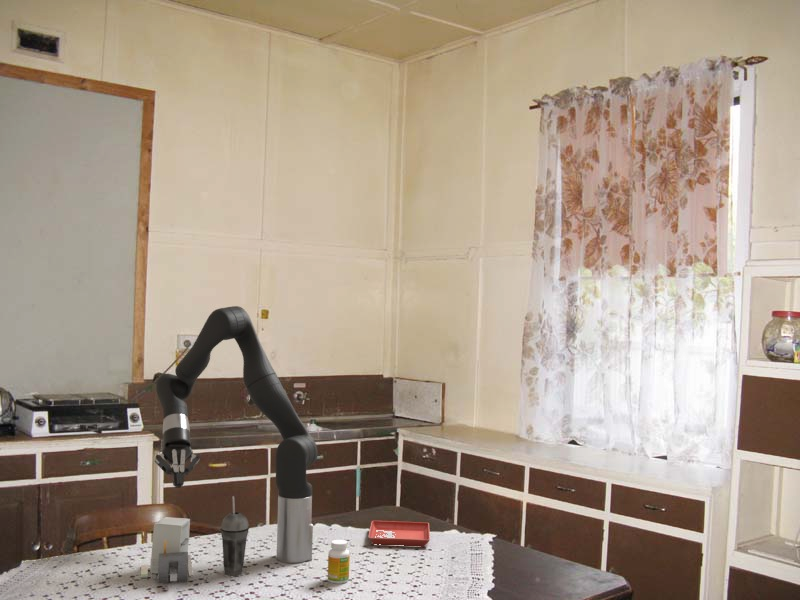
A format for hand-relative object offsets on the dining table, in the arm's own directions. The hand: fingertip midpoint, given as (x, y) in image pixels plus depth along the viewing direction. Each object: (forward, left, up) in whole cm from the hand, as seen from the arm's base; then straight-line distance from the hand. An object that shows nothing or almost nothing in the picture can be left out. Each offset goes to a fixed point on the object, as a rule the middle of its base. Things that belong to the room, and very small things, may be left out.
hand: (178, 486), depth 214 cm
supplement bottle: (-38, +32, -18) cm, 53 cm away
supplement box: (+2, +15, -18) cm, 24 cm away
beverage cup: (-13, +21, -18) cm, 31 cm away
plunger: (+2, +25, -17) cm, 30 cm away
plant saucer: (-65, +1, -19) cm, 67 cm away
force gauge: (+3, +14, -18) cm, 23 cm away
